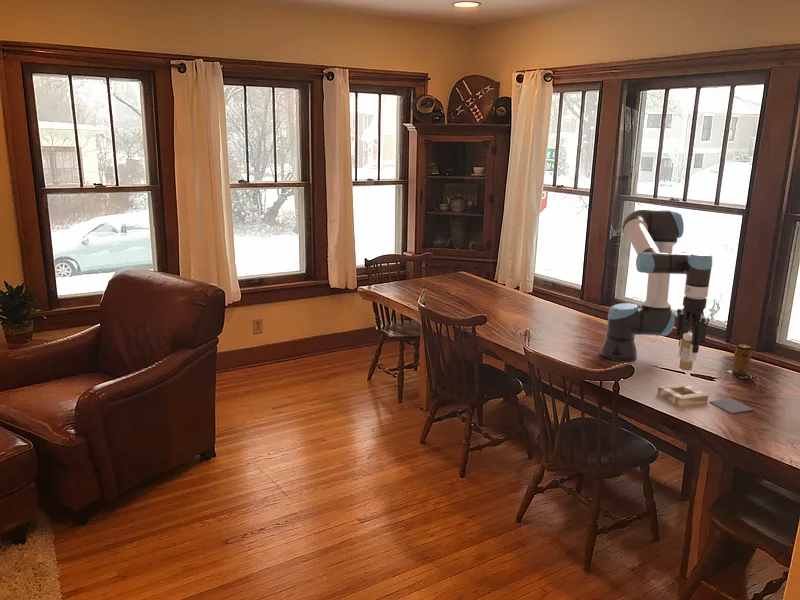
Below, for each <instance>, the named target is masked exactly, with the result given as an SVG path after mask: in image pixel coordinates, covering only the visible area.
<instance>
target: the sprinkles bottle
mask: <svg viewBox="0 0 800 600" xmlns="http://www.w3.org/2000/svg"><path fill="white" fill-rule="evenodd" d="M691 343H693V341H692V332H689V331H688V332H686V333H684V334H683V344H682V350H681V356H679V357H680V358H679V365H678V369H681V370H683V371H691V370H693V365H694V364H693V363H694V361H688V358H689V351H690V344H691Z"/></svg>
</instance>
